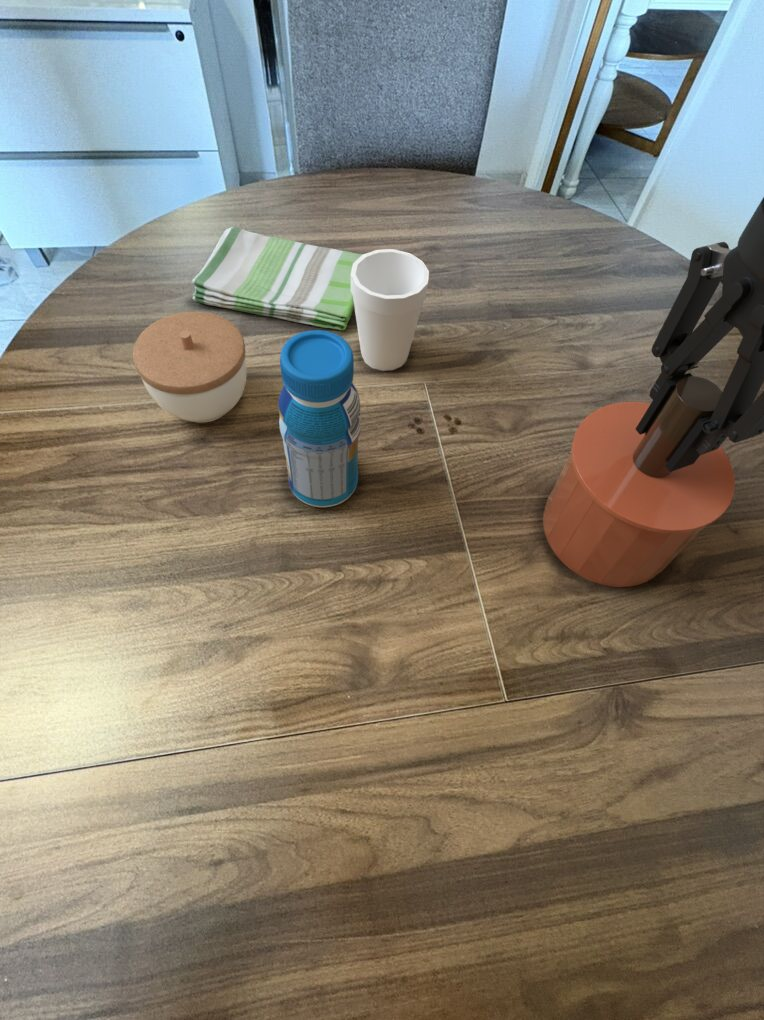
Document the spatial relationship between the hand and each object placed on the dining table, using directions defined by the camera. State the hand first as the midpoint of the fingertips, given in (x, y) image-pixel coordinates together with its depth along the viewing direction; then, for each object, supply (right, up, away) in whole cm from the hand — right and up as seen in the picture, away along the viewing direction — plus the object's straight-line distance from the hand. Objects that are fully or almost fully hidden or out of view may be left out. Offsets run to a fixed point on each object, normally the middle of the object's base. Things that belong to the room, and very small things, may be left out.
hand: (664, 445), depth 58 cm
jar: (-1, -8, +13) cm, 16 cm away
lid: (0, -2, +2) cm, 3 cm away
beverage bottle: (-33, -3, +15) cm, 37 cm away
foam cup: (-26, +15, +27) cm, 40 cm away
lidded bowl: (-49, +8, +21) cm, 54 cm away
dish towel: (-41, +28, +34) cm, 60 cm away
